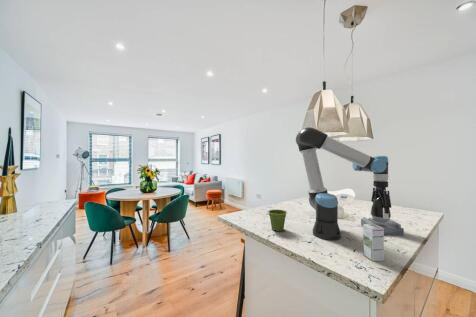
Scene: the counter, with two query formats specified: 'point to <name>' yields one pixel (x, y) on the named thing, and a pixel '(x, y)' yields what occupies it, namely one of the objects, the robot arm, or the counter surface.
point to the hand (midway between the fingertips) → (380, 215)
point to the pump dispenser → (378, 210)
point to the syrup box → (373, 242)
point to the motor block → (386, 226)
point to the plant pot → (277, 219)
